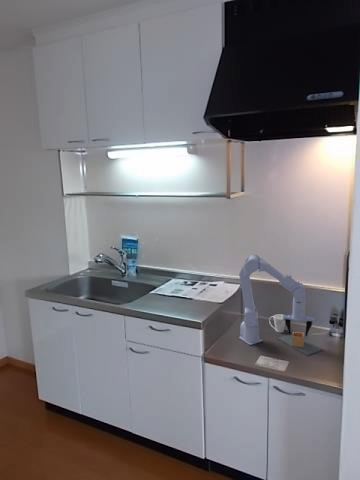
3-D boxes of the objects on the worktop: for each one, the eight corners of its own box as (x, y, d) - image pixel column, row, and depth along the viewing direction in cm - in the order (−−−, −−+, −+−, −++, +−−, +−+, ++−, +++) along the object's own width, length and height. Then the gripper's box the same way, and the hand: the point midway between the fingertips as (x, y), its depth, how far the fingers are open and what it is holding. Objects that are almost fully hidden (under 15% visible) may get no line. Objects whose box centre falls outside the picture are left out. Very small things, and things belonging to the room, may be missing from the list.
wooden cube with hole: (292, 346, 184) (292, 336, 183) (292, 340, 189) (292, 331, 188) (303, 347, 182) (304, 337, 181) (303, 341, 187) (303, 332, 186)
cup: (282, 334, 197) (282, 320, 195) (265, 329, 204) (265, 315, 202) (289, 330, 202) (289, 316, 200) (272, 325, 209) (272, 311, 207)
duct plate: (277, 339, 193) (277, 333, 192) (292, 334, 197) (292, 328, 197) (307, 356, 175) (307, 349, 175) (322, 350, 180) (322, 344, 179)
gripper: (314, 306, 184) (313, 332, 186) (283, 304, 188) (283, 329, 191) (314, 312, 177) (313, 339, 180) (282, 309, 181) (282, 336, 184)
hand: (298, 334), depth 185 cm, fingers open, 7 cm apart
